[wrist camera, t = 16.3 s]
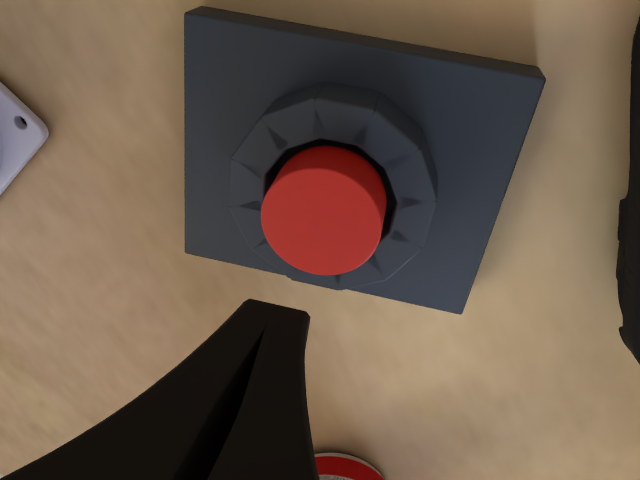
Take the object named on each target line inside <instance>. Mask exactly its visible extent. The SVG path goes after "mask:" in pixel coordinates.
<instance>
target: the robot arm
mask: <svg viewBox="0 0 640 480" xmlns="http://www.w3.org/2000/svg"><path fill="white" fill-rule="evenodd" d="M21 117H22V118H24V120H25V121H26V123H27V125H25V124H24V123H23V122H22V120H21ZM48 136H49V131H48V129H47V126H46V125H45V124H44V122H43V121H42V120H41V119H40V118H38V117H37V116H36V115H35V114H34V113H33V112H32V111H31V110H30V109H29V108H28V107H27V106H26V105H25V104H24V103H23V102H22V101H20V100H19V99H18V98H17V97H16V96H15V95H14V94H13V93H12V92H11V91H10V90H9V89H8V88H7V87H6V86H5V85H4V84H2V83H1V82H0V195H1V194H2V193H3V191H4V190H5V189H6V188H7V187H8V185H9V184H10V183H11V182H12V181H13V179H14V178H15V177H16V176H17V175H18V173H19V172H20V171H21V170H22V169H23V167H24V166H25V165H26V164H27V163H28V161H29V160H30V159H31V158H32V157H33V155H34V154H35V153H36V152H37V151H38V149H39V148H40V147H41V146H42V145H43V143H44V142H45V141H46V140H47V138H48ZM309 323H310V316H309V315H308V313H307V312H306V311H302V310H297V309H293V308H289V307H284V306H280V305H275V304H271V303H267V302H262V301H258V300H253V299H248V300H246V301H245V302H243V304H242V305H241V306H240V307H239V308H238V309H237V310H236V311H235V312H234V313H233V314H232V315H231V316H230V317H229V318H228V319H227V320H226V321H225V322H224V323H223V324H222V325H221V326H220V327H219V328H218V329H217V330H216V331H215V332H214V333H213V334H212V335H211V336H210V337H209V338H208V339H207V340H206V341H205V342H203V343H202V344H201V345H200V346H199V347H198V348H197V349H196V350H195V351H193V352H192V353H191V354H190V355H189V356H188V357H187V358H186V359H184V360H183V361H182V362H181V363H180V364H179V365H177V366H176V367H175V368H174V369H172V370H171V371H170V372H169V373H167V374H166V375H165V376H164V377H162V378H161V379H160V380H159V381H157V382H156V383H155V384H154V385H152V386H151V387H150V388H149V389H147V390H146V391H145V392H143V393H142V394H141V395H139V396H138V397H136V398H135V399H134V400H132V401H131V402H130V403H128V404H127V405H125V406H124V407H122V408H121V409H119V410H118V411H116V412H115V413H114V414H112V415H111V416H109V417H108V418H106V419H105V420H103V421H102V422H100V423H98V424H97V425H95V426H94V427H92V428H90V429H89V430H87V431H85V432H84V433H82V434H81V435H79V436H77V437H76V438H74V439H72V440H71V441H69V442H67V443H66V444H64V445H62V446H61V447H59V448H57V449H55V450H54V451H52V452H50V453H48V454H47V455H45V456H43V457H41V458H39V459H37V460H35V461H33V462H31V463H29V464H27V465H26V466H24V467H22V468H20V469H18V470H16V471H14V472H12V473H10V474H8V475H6V476H4V477H2V478H1V479H0V480H320V479H319V474H318V470H317V465H316V460H315V455H314V449H313V444H312V437H311V431H310V424H309V416H308V408H307V398H306V383H305V348H306V341H307V335H308V329H309Z"/></svg>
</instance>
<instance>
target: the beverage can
mask: <svg viewBox="0 0 640 480" xmlns="http://www.w3.org/2000/svg"><path fill="white" fill-rule="evenodd" d="M314 455H315V460H316V465H317V470H318V474H319V479H320V480H384V478H383V477H382V476H381V474H380V473H379V472H378V471H377V470H376V469H375V468H374V467H373V466H372V465H370V464H369V463H367V462H365V461H363V460H361V459H359V458H357V457H354V456H351V455H347V454H341V453H318V454H314Z"/></svg>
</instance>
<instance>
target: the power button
mask: <svg viewBox="0 0 640 480" xmlns="http://www.w3.org/2000/svg"><path fill="white" fill-rule="evenodd" d="M386 204H387V197H386V190H385V187H384V184H383V181H382V179H381V177H380V175H379V174H378V172H377V171H376V170H375V168H374V167H373V166H372V165H371V164H370V163H369V162H368V161H367V160H366V159H364V158H363V157H362V156H360V155H358V154H357V153H355V152H353V151H350V150H348V149H345V148H342V147H337V146H315V147H311V148H307V149H305V150H302V151H300V152H299V153H297V154H295V155H294V156H293V157H291V158H290V159H289V160H288V161H287V162H286V163H285V164H284V166H283V167H282V169H281V170H280V172H279V174H278V175H277V177H276V178H275V180H274V182H273V183H272V185H271V187H270V188H269V190H268V191H267V193H266V195H265V197H264V200H263V203H262V208H261V224H262V228H263V232H264V234H265V237H266V239H267V241H268V243H269V244H270V246H271V247H272V249H273V250H274V251H275V252H276V253H277V254H278V255H279V256H280V257H281V258H282V259H283V260H284V261H286V262H287V263H289V264H290V265H292V266H294V267H295V268H297V269H300V270H302V271H305V272H308V273H312V274H317V275H337V274H342V273H346V272H349V271H351V270H354V269H356V268H357V267H359V266H361V265H362V264H363V263H365V262H366V261H367V260H368V259H369V258H370V257H371V256H372V254H373V253H374V251H375V250H376V248H377V246H378V244H379V241H380V238H381V233H382V227H383V222H384V216H385V211H386Z"/></svg>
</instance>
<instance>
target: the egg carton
mask: <svg viewBox="0 0 640 480" xmlns="http://www.w3.org/2000/svg"><path fill="white" fill-rule="evenodd" d="M618 240H619V248H618V258H617V267H616V278H617V281H618V298H619V304H620V308H621V312H622V315H623V326H622V327H620V328H619V332H620V336H621V338H622V340H623V342H624V344H625V345H626V346H627V347H628V349H629V350H630V351H631V352H632V354H633V355H634V357H635V358H636V360H637V361H638V363H639V364H640V16H639V21H638V24H637V26H636V31H635V34H634V38H633V46H632V60H631V95H630V169H629V187H628V193H627V196H626V198H624V199H622V200H620V204H619V224H618Z"/></svg>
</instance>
